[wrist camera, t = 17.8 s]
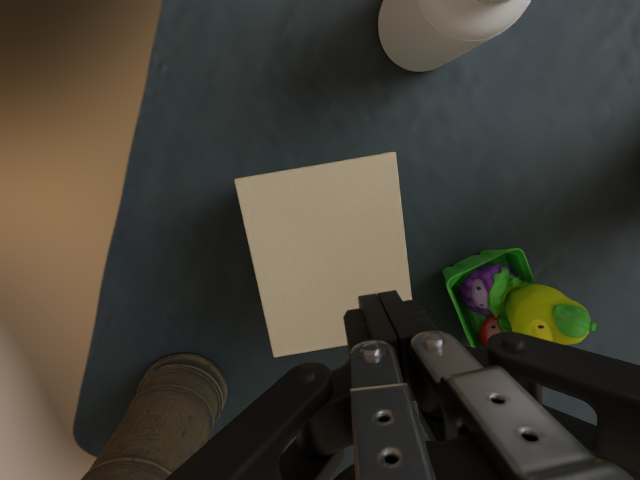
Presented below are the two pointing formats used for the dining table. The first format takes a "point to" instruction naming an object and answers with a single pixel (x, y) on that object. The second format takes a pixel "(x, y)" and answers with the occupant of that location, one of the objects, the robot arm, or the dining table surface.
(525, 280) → the fruit basket
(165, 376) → the container
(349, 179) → the lid
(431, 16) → the pill bottle
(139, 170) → the dining table surface
